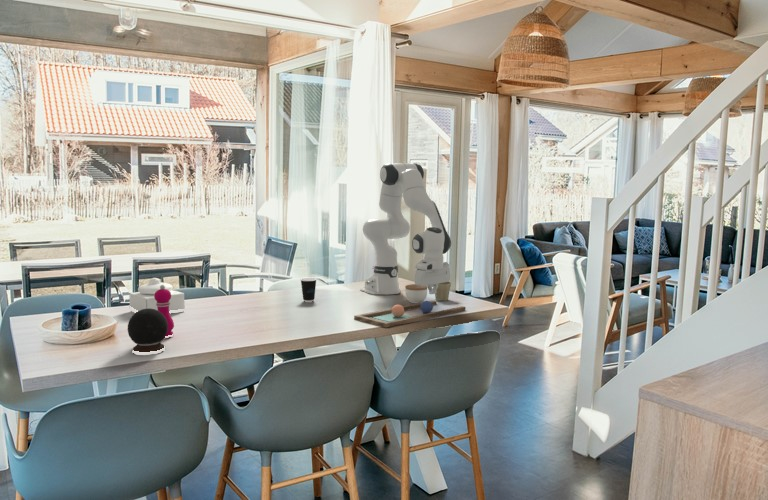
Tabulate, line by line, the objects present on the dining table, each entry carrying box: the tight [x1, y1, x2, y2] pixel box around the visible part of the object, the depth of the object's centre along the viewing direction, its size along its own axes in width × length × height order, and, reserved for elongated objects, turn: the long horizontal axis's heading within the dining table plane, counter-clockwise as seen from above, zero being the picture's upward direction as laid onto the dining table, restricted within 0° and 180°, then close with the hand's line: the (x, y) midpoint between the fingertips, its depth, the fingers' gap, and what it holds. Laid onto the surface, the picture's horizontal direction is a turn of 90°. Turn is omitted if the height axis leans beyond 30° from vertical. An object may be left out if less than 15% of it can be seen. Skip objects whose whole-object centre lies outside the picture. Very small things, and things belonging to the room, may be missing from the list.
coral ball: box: [391, 304, 405, 317], centre depth 274 cm, size 6×6×6 cm
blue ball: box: [419, 300, 434, 314], centre depth 282 cm, size 6×6×6 cm
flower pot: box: [434, 281, 453, 302], centre depth 312 cm, size 9×9×9 cm
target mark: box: [371, 313, 413, 322], centre depth 272 cm, size 14×14×1 cm
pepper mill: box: [154, 285, 175, 336], centre depth 239 cm, size 7×7×20 cm
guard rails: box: [353, 300, 466, 328], centre depth 279 cm, size 20×49×2 cm, turn 132°
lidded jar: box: [404, 283, 428, 304], centre depth 307 cm, size 11×11×9 cm
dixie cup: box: [300, 277, 318, 303], centre depth 308 cm, size 8×8×11 cm
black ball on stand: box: [127, 308, 168, 352], centre depth 220 cm, size 13×13×15 cm
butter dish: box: [128, 277, 186, 311], centre depth 284 cm, size 18×18×16 cm
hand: (432, 293), depth 288 cm, fingers closed
